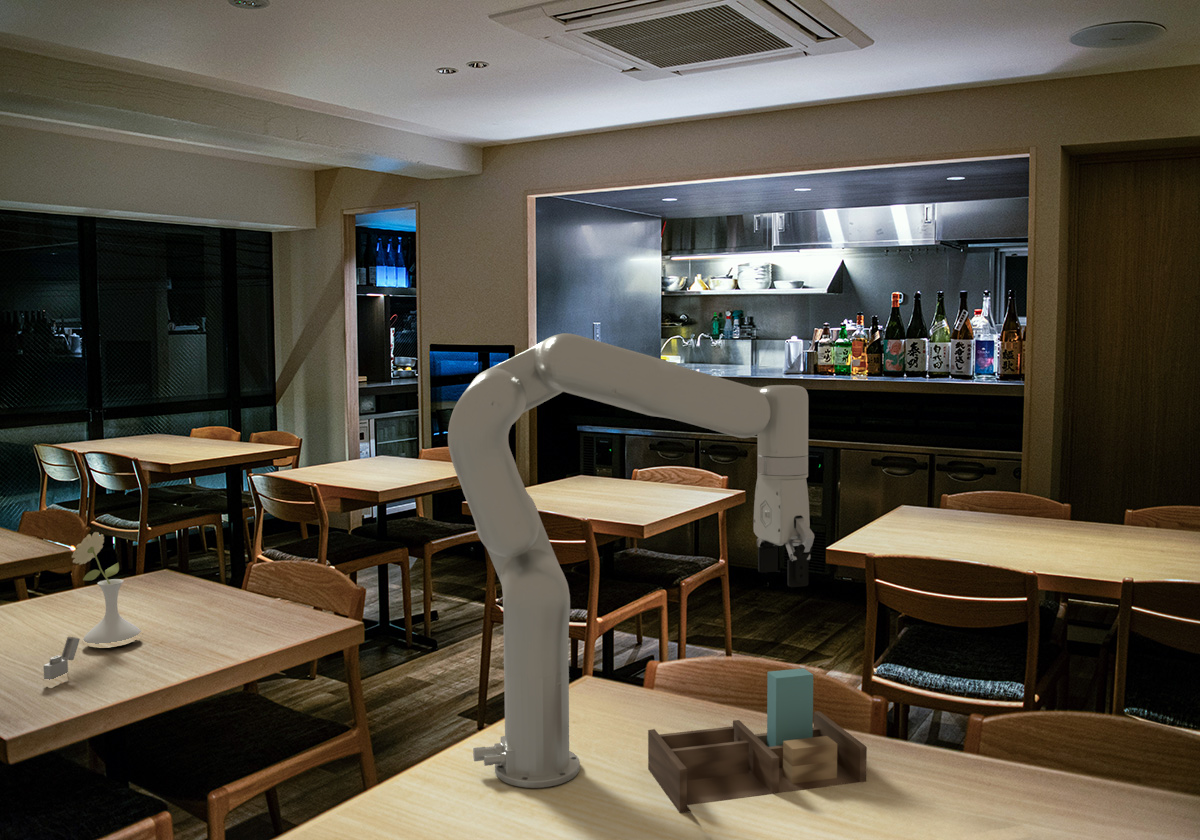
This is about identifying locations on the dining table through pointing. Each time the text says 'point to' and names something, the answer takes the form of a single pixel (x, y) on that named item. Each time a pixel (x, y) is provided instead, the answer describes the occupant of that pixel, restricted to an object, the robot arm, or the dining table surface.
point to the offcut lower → (809, 772)
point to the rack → (740, 763)
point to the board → (789, 706)
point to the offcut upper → (809, 751)
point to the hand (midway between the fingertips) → (782, 578)
